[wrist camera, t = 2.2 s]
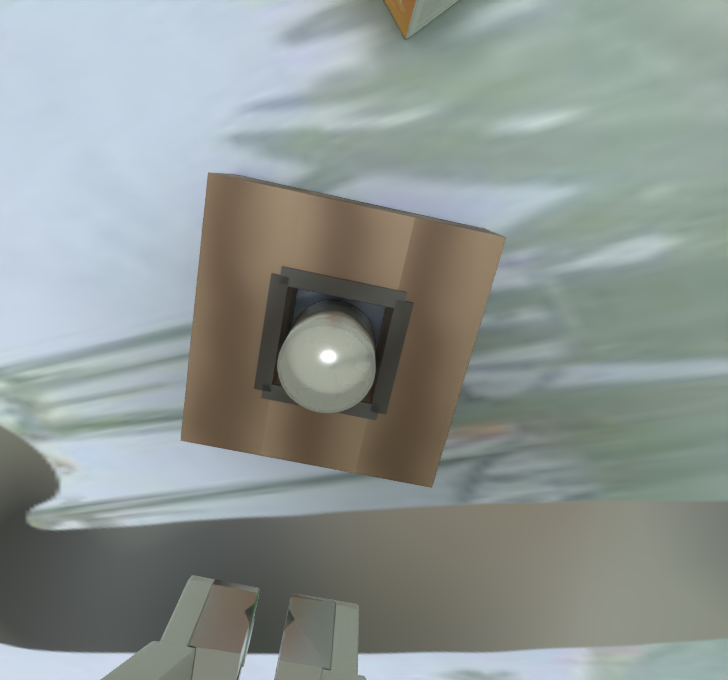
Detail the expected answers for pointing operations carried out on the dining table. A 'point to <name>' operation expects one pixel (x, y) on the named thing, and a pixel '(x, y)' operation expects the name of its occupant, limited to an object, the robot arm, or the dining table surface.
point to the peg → (328, 357)
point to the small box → (416, 13)
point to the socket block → (342, 279)
